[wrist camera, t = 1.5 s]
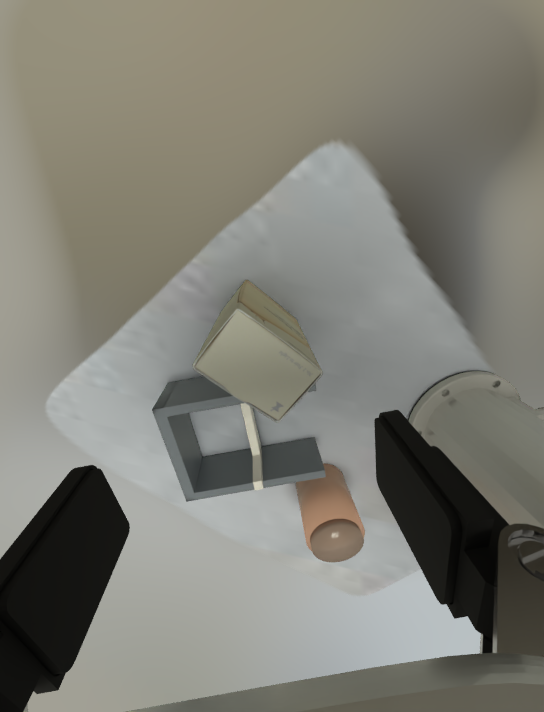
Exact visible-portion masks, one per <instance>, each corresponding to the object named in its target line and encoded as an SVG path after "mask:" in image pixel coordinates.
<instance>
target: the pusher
mask: <svg viewBox="0 0 544 712" xmlns="http://www.w3.org/2000/svg"><path fill="white" fill-rule="evenodd" d="M241 409H242V413H243V417H244V421H245V426H246V430H247V434H248V438H249V443H250V447H251V451H252V456H253V485H254V489H255V490H259V489H263V472H262V449H261V443H260V438H259V435H258V431H257V426H256V421H255V417H254V412H253V408H252V407H250V406H249V405H247V404H246V403H243V404H241Z"/></svg>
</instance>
